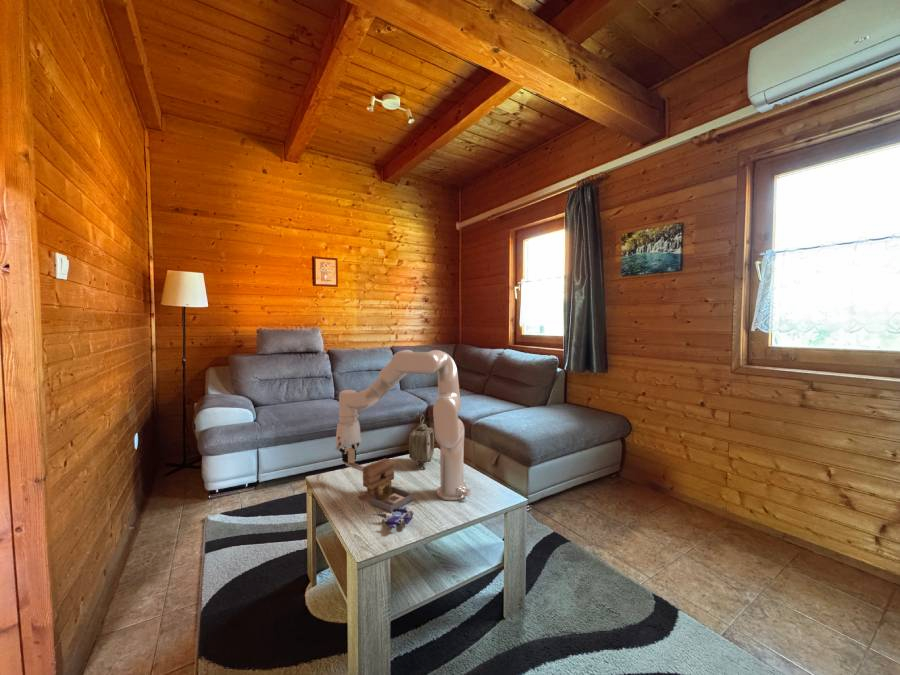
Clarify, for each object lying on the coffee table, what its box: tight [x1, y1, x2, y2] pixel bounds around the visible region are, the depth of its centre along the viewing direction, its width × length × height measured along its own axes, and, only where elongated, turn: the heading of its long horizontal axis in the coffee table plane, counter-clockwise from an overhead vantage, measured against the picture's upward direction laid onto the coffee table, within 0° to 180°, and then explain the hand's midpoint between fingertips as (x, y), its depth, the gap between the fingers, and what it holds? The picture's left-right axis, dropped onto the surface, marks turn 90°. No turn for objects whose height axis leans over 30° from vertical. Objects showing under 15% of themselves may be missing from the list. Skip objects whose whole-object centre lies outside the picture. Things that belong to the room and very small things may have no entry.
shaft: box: [343, 447, 382, 478], centre depth 153 cm, size 22×4×8 cm, turn 53°
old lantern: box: [408, 414, 435, 470], centre depth 180 cm, size 14×9×25 cm, turn 168°
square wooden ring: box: [383, 493, 405, 506], centre depth 142 cm, size 1×6×6 cm
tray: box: [369, 485, 414, 514], centre depth 143 cm, size 12×12×2 cm
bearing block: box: [357, 457, 395, 504], centre depth 148 cm, size 8×12×14 cm
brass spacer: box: [378, 480, 392, 501], centre depth 146 cm, size 1×6×6 cm, turn 142°
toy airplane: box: [371, 506, 414, 529], centre depth 128 cm, size 13×14×4 cm
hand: (349, 460), depth 158 cm, fingers closed on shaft, 3 cm apart
